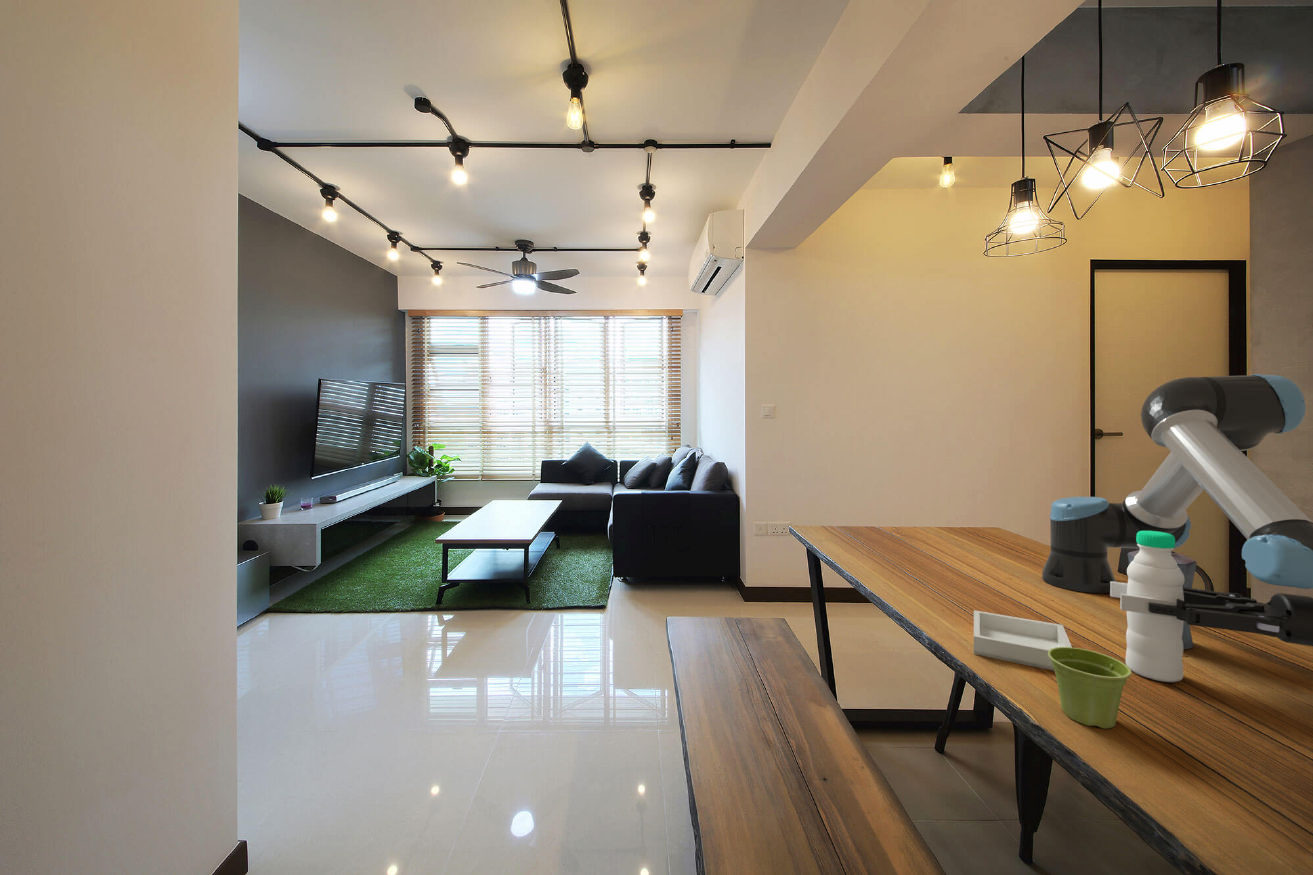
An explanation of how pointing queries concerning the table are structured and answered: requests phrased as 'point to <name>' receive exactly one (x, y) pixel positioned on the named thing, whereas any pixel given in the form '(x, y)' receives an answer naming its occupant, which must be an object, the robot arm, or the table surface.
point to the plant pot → (1089, 685)
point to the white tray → (1017, 639)
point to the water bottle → (1150, 635)
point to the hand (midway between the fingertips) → (1115, 595)
